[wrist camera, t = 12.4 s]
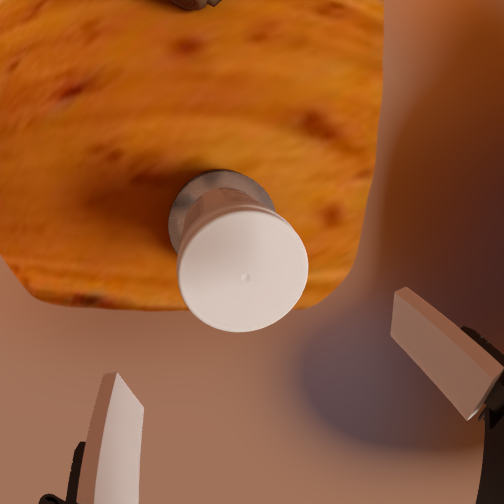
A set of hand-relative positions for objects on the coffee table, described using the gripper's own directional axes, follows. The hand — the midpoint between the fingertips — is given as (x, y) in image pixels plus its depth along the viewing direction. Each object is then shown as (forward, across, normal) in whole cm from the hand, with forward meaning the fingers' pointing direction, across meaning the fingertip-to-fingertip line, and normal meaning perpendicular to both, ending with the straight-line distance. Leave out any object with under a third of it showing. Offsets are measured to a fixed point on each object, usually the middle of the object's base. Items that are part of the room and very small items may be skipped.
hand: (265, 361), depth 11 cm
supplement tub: (+23, 0, 0) cm, 23 cm away
